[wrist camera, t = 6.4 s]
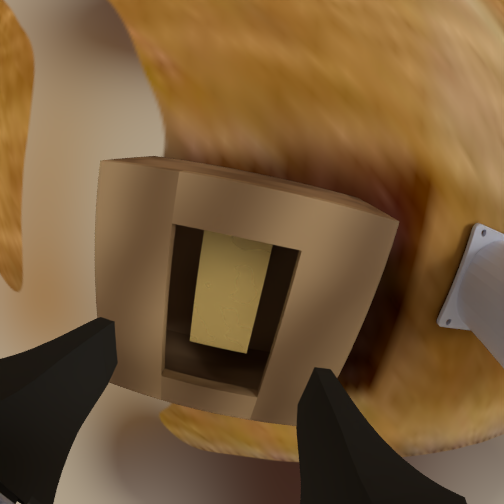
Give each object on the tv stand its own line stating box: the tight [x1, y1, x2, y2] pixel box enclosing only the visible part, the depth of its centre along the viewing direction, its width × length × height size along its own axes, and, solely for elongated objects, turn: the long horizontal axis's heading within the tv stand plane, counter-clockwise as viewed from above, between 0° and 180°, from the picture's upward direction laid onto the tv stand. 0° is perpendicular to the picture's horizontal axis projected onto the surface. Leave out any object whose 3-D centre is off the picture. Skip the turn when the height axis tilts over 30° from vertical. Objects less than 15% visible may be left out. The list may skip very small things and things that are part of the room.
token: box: [190, 230, 273, 353], centre depth 15 cm, size 3×6×4 cm, turn 169°
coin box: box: [95, 156, 399, 426], centre depth 15 cm, size 12×12×6 cm
